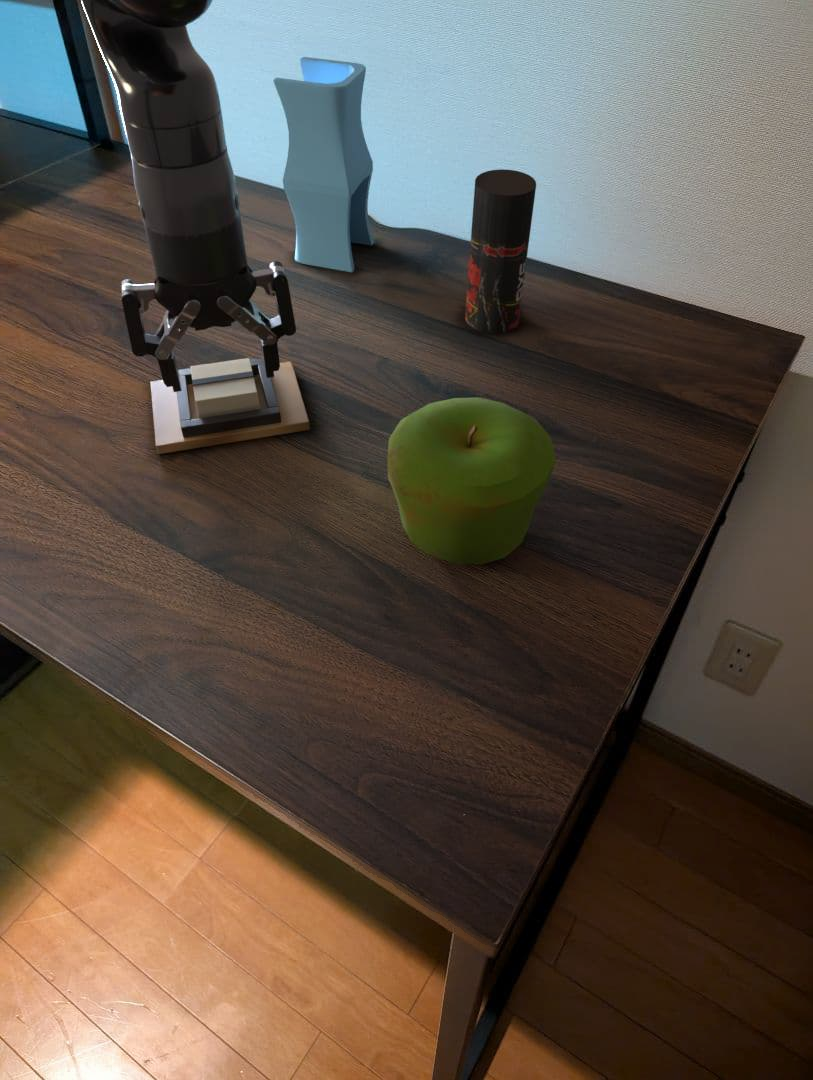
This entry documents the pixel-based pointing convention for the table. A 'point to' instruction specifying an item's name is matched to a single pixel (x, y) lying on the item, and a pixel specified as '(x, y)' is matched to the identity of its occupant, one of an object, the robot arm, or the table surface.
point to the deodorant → (498, 249)
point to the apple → (468, 477)
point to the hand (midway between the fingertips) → (223, 379)
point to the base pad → (187, 431)
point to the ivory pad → (224, 388)
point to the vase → (327, 161)
